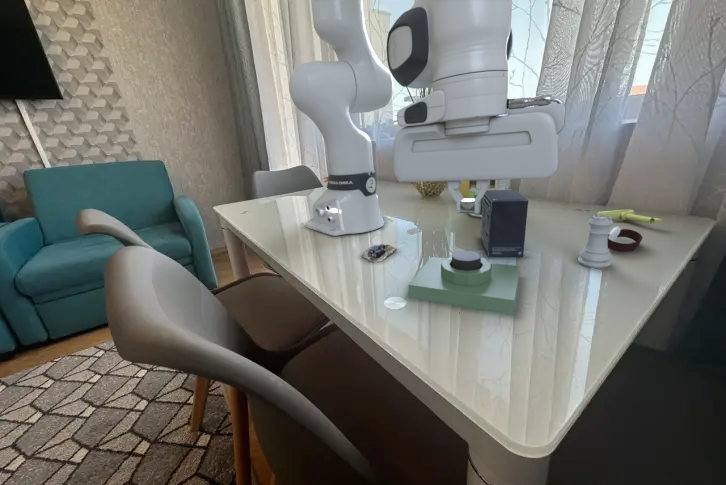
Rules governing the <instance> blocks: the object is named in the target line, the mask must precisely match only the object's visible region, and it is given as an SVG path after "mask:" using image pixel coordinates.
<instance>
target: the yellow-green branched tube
mask: <svg viewBox="0 0 726 485" xmlns="http://www.w3.org/2000/svg"><path fill="white" fill-rule="evenodd" d="M596 214H600V217H603V214H605V215H607V217H606V218H608V216H609V215H610V216H611V217H612V218H611V220H612V219H613V220H615V219H616V220H617V219H622V220H623V221H629V220H630V221H636V222H641V223H646V224H650V225H652V224H654V223H656V222H662V221H663V218H659V217H650V216H644V215H639V214H635V210H633V209H616V210H615V209H614V210H605V211H598V212H597V213H596Z"/></svg>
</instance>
